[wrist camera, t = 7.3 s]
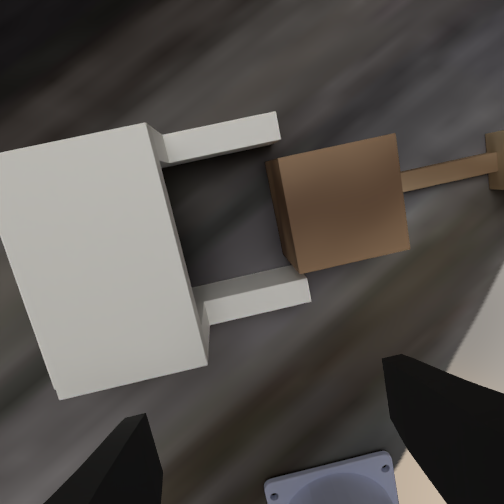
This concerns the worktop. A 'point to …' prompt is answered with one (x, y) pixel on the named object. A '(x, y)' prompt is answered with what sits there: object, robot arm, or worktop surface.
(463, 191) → the worktop surface
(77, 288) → the cubby lane
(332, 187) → the tethered block
